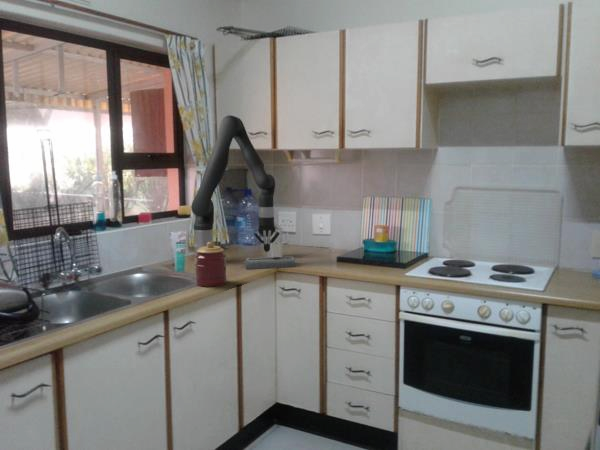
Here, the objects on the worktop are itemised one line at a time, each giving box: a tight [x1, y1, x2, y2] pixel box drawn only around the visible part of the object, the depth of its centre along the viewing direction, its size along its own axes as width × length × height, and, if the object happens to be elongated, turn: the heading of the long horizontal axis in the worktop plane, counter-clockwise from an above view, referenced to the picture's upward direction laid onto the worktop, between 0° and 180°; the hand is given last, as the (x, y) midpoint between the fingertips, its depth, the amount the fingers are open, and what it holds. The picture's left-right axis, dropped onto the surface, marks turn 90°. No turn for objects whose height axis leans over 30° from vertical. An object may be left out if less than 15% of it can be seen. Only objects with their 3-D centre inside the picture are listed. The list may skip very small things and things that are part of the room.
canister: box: [194, 242, 228, 288], centre depth 218 cm, size 13×13×18 cm
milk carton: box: [267, 220, 284, 257], centre depth 276 cm, size 7×7×19 cm
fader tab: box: [272, 242, 281, 259], centre depth 255 cm, size 4×5×9 cm
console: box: [243, 255, 297, 270], centre depth 255 cm, size 24×12×4 cm, turn 101°
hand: (266, 251), depth 254 cm, fingers closed
